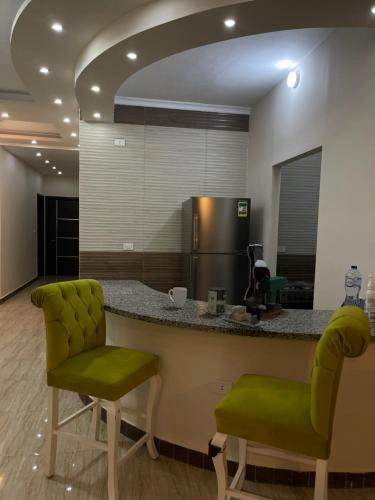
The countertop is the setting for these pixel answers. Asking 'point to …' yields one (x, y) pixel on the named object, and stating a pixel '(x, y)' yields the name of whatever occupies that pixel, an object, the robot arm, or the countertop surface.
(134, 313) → the countertop surface
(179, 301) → the mug
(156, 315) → the countertop surface
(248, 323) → the vise base
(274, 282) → the power tool
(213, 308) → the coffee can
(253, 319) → the sliding jaw
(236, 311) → the maple block
